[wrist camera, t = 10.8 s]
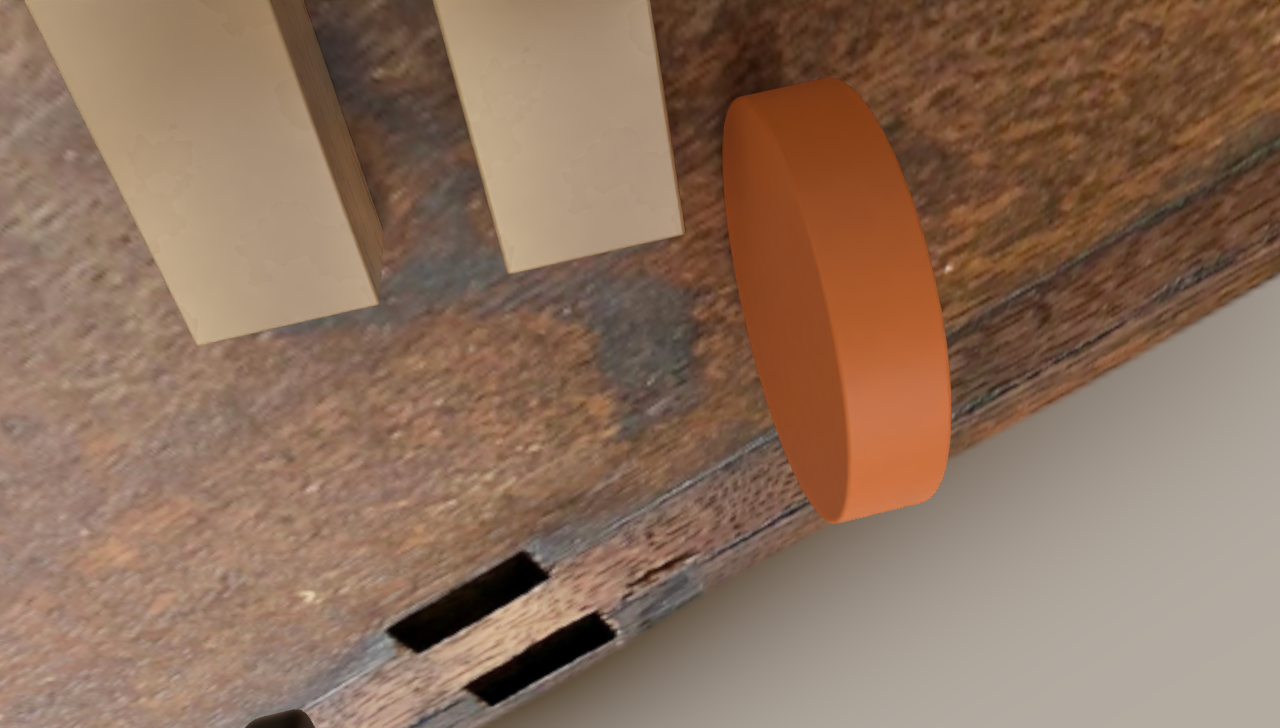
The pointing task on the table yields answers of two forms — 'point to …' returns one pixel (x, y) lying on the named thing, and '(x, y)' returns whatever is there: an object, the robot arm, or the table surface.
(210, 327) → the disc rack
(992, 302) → the table surface
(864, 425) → the disc
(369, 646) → the table surface
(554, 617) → the table surface
